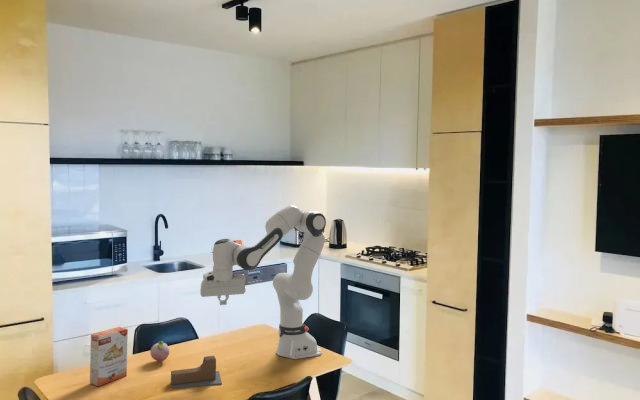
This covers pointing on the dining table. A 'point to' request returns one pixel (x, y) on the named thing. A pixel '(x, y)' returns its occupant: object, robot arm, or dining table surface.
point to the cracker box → (108, 356)
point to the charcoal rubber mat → (200, 383)
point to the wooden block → (196, 372)
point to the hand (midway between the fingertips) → (223, 304)
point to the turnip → (159, 351)
